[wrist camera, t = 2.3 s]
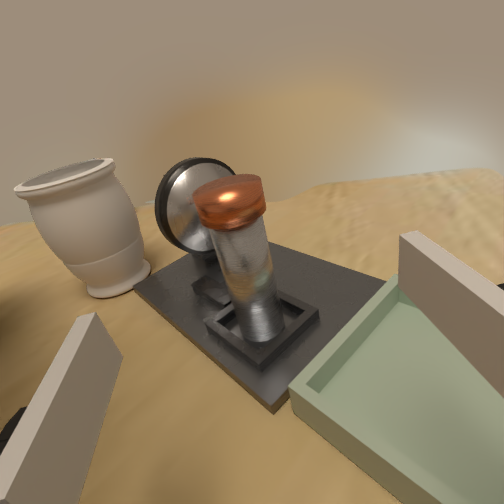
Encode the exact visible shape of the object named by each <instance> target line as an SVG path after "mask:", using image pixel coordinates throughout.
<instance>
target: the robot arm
mask: <svg viewBox="0 0 504 504" xmlns="http://www.w3.org/2000/svg"><path fill="white" fill-rule="evenodd" d="M398 287H399V288H400V289H401V290H402V291H403V292H404V293H405V295H406V296H407V297H408V298H409V299H410V300H411V301H412V302H413V303H414V304H415V305H416V306H417V307H418V308H419V309H420V310H421V311H422V313H423V314H424V315H425V316H426V317H427V318H428V319H429V320H430V321H431V322H432V323H433V324H434V325H435V326H436V327H437V328H438V329H439V331H440V332H441V333H442V334H443V335H444V336H445V337H446V338H447V339H448V340H449V341H450V342H451V343H452V344H453V345H454V346H455V347H456V349H457V350H458V351H459V352H460V353H461V354H462V355H463V356H464V357H465V358H466V359H467V360H468V361H469V362H470V363H471V364H472V365H473V367H474V368H475V369H476V370H477V371H478V372H479V373H480V374H481V375H482V376H483V377H484V378H485V379H486V380H487V381H488V382H489V383H490V385H491V386H492V387H493V388H494V389H495V390H496V391H497V392H498V393H499V394H500V395H501V396H502V397H503V398H504V283H503V284H499V285H495V284H494V283H492V282H491V281H489V280H488V279H486V278H485V277H484V276H482V275H481V274H479V273H478V272H476V271H475V270H474V269H472V268H471V267H469V266H468V265H466V264H465V263H463V262H462V261H461V260H459V259H458V258H456V257H455V256H453V255H452V254H450V253H449V252H448V251H446V250H445V249H443V248H442V247H440V246H439V245H438V244H436V243H435V242H433V241H432V240H430V239H429V238H427V237H426V236H425V235H423V234H422V233H420V232H419V231H417V230H416V231H412V232H408V233H404V234H400V235H399V267H398ZM122 359H123V356H122V354H121V352H120V351H119V349H118V348H117V346H116V344H115V343H114V341H113V339H112V338H111V336H110V335H109V333H108V331H107V330H106V328H105V326H104V325H103V323H102V322H101V320H100V318H99V317H98V315H97V313H96V312H94V313H90V314H86V315H82V316H78V317H77V319H76V321H75V322H74V324H73V326H72V328H71V330H70V331H69V333H68V335H67V337H66V339H65V340H64V342H63V344H62V346H61V348H60V349H59V351H58V353H57V355H56V356H55V358H54V360H53V362H52V364H51V365H50V367H49V369H48V371H47V373H46V374H45V376H44V378H43V380H42V382H41V383H40V385H39V387H38V389H37V391H36V392H35V394H34V396H33V398H32V400H31V401H30V403H29V405H28V406H27V407H23V408H20V409H19V411H18V412H17V413H16V414H15V415H14V416H13V417H12V418H11V419H10V421H9V422H8V423H7V424H6V425H5V427H4V429H3V430H2V432H1V434H0V504H78V502H79V499H80V495H81V492H82V489H83V486H84V482H85V479H86V476H87V473H88V469H89V466H90V463H91V460H92V456H93V453H94V450H95V447H96V443H97V440H98V437H99V434H100V430H101V427H102V424H103V421H104V417H105V414H106V411H107V408H108V404H109V401H110V398H111V395H112V391H113V388H114V385H115V382H116V378H117V375H118V372H119V369H120V365H121V362H122Z"/></svg>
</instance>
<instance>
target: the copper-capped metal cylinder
mask: <svg viewBox="0 0 504 504" xmlns="http://www.w3.org/2000/svg"><path fill="white" fill-rule="evenodd" d="M192 197H193V200H194V203H195V206H196V210H197V213H198V216H199V219H200V222H201V224H202V226H204V227H206V228H209V232H210V235H211V238H212V241H213V244H214V248H215V251H216V254H217V257H218V260H219V264H220V267H221V270H222V273H223V276H224V280H225V283H226V286H227V289H228V292H229V296H230V299H231V302H232V305H233V308H234V312H235V315H236V318H237V321H238V324H239V327H240V331H241V333H242V335H243V336H244V337H245V338H246V339H248V340H250V341H255V342H262V341H267V340H270V339H272V338H274V337H275V336H277V335H278V334H279V333H280V332H281V331H282V329H283V327H284V317H283V313H282V308H281V303H280V298H279V293H278V289H277V284H276V279H275V274H274V269H273V264H272V260H271V255H270V250H269V245H268V240H267V236H266V231H265V226H264V221H263V216H262V214H263V213H264V212H265V210H266V203H265V198H264V193H263V188H262V183H261V178H260V177H259V176H256V175H252V174H240V175H232V176H227V177H223V178H219V179H216V180H213V181H211V182H208V183H206V184H204V185H202V186H200V187H199V188H197V189H196V190H195V191H194V192H193V194H192Z"/></svg>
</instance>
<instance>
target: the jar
mask: <svg viewBox="0 0 504 504" xmlns="http://www.w3.org/2000/svg"><path fill="white" fill-rule="evenodd" d="M114 170H115V163H114V162H113V159H111V158H104V159H95V160H89V161H84V162H80V163H76V164H72V165H68V166H65V167H61V168H58V169H55V170H52V171H49V172H46V173H44V174H41V175H38V176H36V177H33V178H31V179H29V180H27V181H25V182H23V183H21V184H19V185H18V186H16V187H15V188H14V191H15V193H16V195H17V196H18V197H19V198H21V199H24V200H27V202H28V204H29V208H30V211H31V215H32V217H33V220H34V222H35V224H36V227H37V229H38V231H39V232H40V234H41V236H42V238H43V239H44V241H45V242H46V244H47V245H48V246H49V248H50V249H51V250H52V251H53V252H54V253H55V255H56V256H57V257H58V258H59V259H60V260H62V261H63V263H64V264H65V266H66V267H67V268H68V269H69V270H70V271H71V272H72V273H73V274H74V275H75V276H76V277H77V278H79V279H80V280H82V281H84V282H85V283H87V292H88V293H89V295H91V296H93V297H96V298H107V297H113V296H116V295H119V294H122V293H125V292H127V291H129V290H131V289H133V285H135V284H137V283H138V282H140V281H142V280H144V279H145V278H146V277H147V276H148V275H149V273H150V270H151V266H150V264H149V262H148V261H147V260H145V259H143V258H144V243H143V238H142V235H141V232H140V227H139V222H138V218H137V215H136V212H135V209H134V207H133V204H132V202H131V200H130V198H129V196H128V194H127V192H126V191H125V189H124V187H123V186H122V185H121V183H120V182H119V180H118V179H117V178H116V177H115V175H114V173H113V171H114Z"/></svg>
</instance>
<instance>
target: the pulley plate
mask: <svg viewBox="0 0 504 504" xmlns="http://www.w3.org/2000/svg"><path fill="white" fill-rule="evenodd" d="M232 175H236V174H235V173H234V171H233V170H232V169H231V168H230V167H229V166H227V165H226V164H225V163H223V162H221V161H219V160H216V159H210V158H197V157H195V158H189V159H186V160H183V161H181V162H179V163H177V164H176V165H174V166H173V167H172V168H171V169H170V170H169V171H168V172H167V173H166V174H165V175H164V177H163V179H162V181H161V183H160V185H159V187H158V190H157V194H156V198H155V216H156V221H157V224H158V226H159V229H160V231H161V232H162V234H163V235H164V237H165V238H166V239H167V240H168V241H169V242H170V243H171V244H173V245H174V246H176V247H178V248H180V249H182V250H184V251H186V252H189V254H187V255H185V256H183V257H182V258H180V259H178V260H176V261H175V262H173V263H171V264H170V265H168V266H166V267H164V268H163V269H161V270H159V271H157V272H156V273H154V274H152V275H150V276H149V277H147V278H145V279H144V280H142V281H140V282H138V283H137V284H135V285H133V288H134V290H135V292H136V293H137V294H138V295H139V296H140V297H141V298H142V299H144V300H145V301H146V302H147V303H148V304H149V305H150V306H151V307H153V308H154V309H155V310H156V311H157V312H158V313H159V314H160V315H162V316H163V317H164V318H165V319H166V320H167V321H168V322H169V323H171V324H172V325H173V326H174V327H175V328H176V329H177V330H179V331H180V332H181V333H182V334H183V335H184V336H185V337H186V338H188V339H189V340H190V341H191V342H192V343H193V344H194V345H195V346H197V347H198V348H199V349H200V350H201V351H202V352H203V353H204V354H206V355H207V356H208V357H209V358H210V359H211V360H212V361H213V362H215V363H216V364H217V365H218V366H219V367H220V368H221V369H222V370H224V371H225V372H226V373H227V374H228V375H229V376H230V377H232V378H233V379H234V380H235V381H236V382H237V383H238V384H239V385H241V386H242V387H243V388H244V389H245V390H246V391H247V392H248V393H250V394H251V395H252V396H253V397H254V398H255V399H256V400H257V401H259V402H260V403H261V404H262V405H263V406H264V407H265V408H266V409H268V410H269V411H270V412H271V413H272V414H273V415H274V413H275V412H276V411H277V410H278V409H279V408H280V407H281V406H282V405H283V404H284V403H285V402H286V401H287V399H288V398H289V397H290V394H289V390H288V385H289V384H290V383H291V382H292V381H293V380H294V379H295V377H296V376H297V375H298V374H299V373H300V372H301V371H302V370H303V369H304V368H305V367H306V366H307V365H308V364H309V363H310V362H311V361H312V360H313V359H314V358H315V357H316V355H317V354H318V353H319V352H320V351H321V350H322V349H323V348H324V347H325V346H326V345H327V344H328V343H329V342H330V341H331V340H332V339H333V338H334V337H335V336H336V335H337V333H338V332H339V331H340V330H341V329H342V328H343V327H344V326H345V325H346V324H347V323H348V322H349V321H350V320H351V319H352V318H353V317H354V316H355V315H356V314H357V312H358V311H359V310H360V309H361V308H362V307H363V306H364V305H365V304H366V303H367V302H368V301H369V300H370V299H371V298H372V297H373V296H374V295H375V294H376V293H377V292H378V290H379V289H380V288H381V287H382V286H383V285H384V284H385V283H386V282H387V281H384V280H381V279H378V278H375V277H372V276H369V275H366V274H363V273H360V272H357V271H354V270H351V269H348V268H345V267H342V266H339V265H336V264H333V263H330V262H327V261H324V260H322V259H319V258H316V257H313V256H310V255H307V254H304V253H301V252H298V251H295V250H292V249H289V248H286V247H283V246H280V245H277V244H274V243H271V242H268V245H269V250H270V255H271V260H272V264H273V269H274V274H275V279H276V284H277V289H278V293H279V298H280V303H281V308H282V313H283V317H284V327H283V329H282V331H281V332H280V333H279V334H278V335H277V336H275V337H274V338H272V339H270V340H267V341H262V342H255V341H250V340H248V339H246V338H245V337H244V336H243V335H242V333H241V331H240V327H239V324H238V321H237V318H236V315H235V312H234V308H233V305H232V302H231V299H230V296H229V292H228V289H227V286H226V283H225V280H224V276H223V273H222V270H221V267H220V264H219V260H218V257H217V254H216V251H215V248H214V244H213V241H212V238H211V235H210V232H209V228H206V227H204V226H202V224H201V222H200V219H199V216H198V213H197V210H196V206H195V203H194V200H193V197H192V194H193V192H194V191H195V190H196V189H197V188H199V187H200V186H202V185H204V184H206V183H208V182H211V181H213V180H216V179H219V178H223V177H227V176H232Z"/></svg>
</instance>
